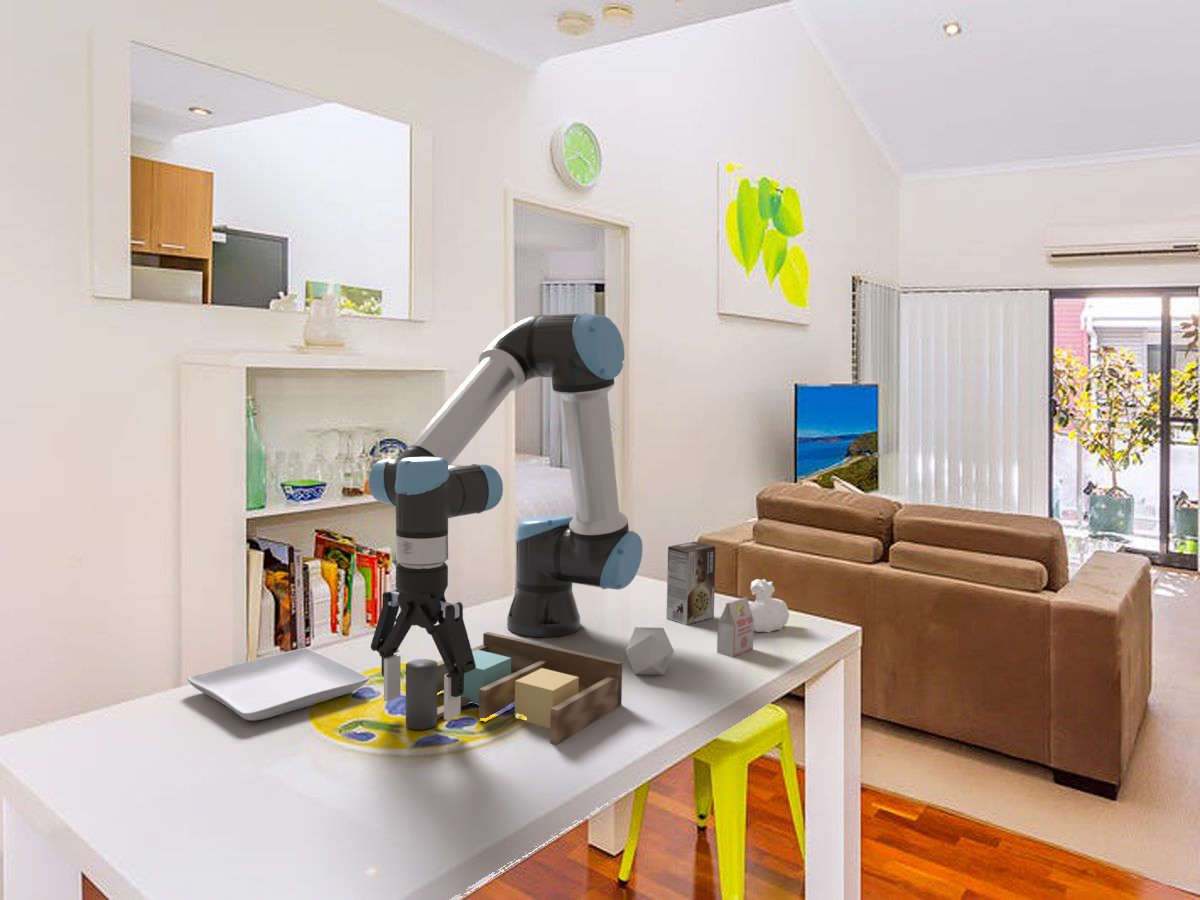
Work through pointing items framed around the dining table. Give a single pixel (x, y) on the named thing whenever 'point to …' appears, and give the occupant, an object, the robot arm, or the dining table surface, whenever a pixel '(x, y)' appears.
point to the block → (543, 694)
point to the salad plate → (279, 683)
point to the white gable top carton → (735, 629)
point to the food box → (690, 582)
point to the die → (649, 651)
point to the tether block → (425, 686)
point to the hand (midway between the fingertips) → (421, 707)
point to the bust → (767, 608)
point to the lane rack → (595, 673)
